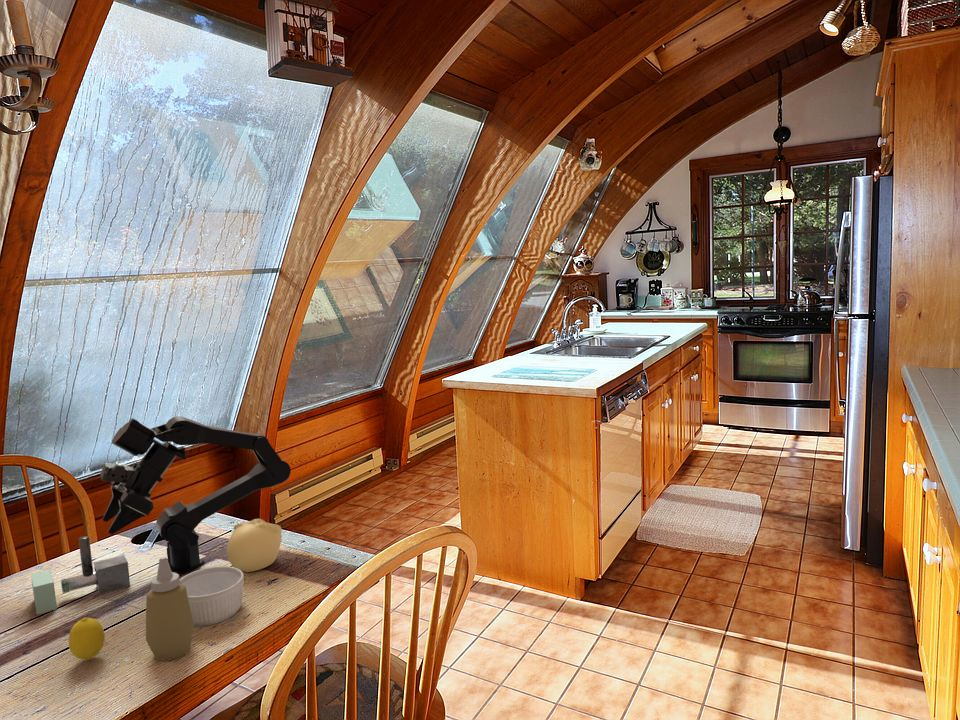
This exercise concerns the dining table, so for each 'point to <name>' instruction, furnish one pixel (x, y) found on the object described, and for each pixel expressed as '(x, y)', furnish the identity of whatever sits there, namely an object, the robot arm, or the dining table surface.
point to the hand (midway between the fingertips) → (106, 527)
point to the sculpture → (254, 545)
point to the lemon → (86, 638)
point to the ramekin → (214, 593)
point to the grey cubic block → (112, 574)
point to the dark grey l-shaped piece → (87, 569)
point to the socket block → (43, 591)
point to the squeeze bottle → (168, 615)
